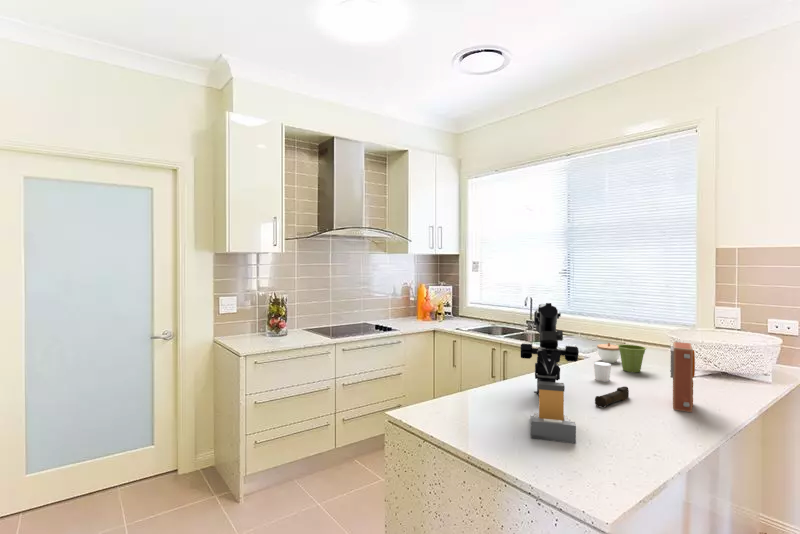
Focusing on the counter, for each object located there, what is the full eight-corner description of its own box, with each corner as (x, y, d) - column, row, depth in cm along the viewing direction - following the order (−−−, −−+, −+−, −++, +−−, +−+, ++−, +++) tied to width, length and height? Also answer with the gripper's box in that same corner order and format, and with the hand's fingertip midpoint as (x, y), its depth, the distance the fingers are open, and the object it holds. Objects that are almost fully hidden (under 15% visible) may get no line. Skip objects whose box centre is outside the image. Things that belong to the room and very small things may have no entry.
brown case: (692, 401, 155) (694, 414, 142) (669, 398, 159) (670, 410, 146) (693, 342, 155) (695, 350, 142) (670, 340, 158) (670, 347, 146)
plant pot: (651, 374, 192) (652, 349, 192) (625, 374, 192) (625, 349, 192) (637, 367, 204) (637, 344, 204) (612, 367, 204) (612, 344, 204)
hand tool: (604, 409, 148) (605, 396, 148) (594, 405, 151) (594, 392, 151) (635, 400, 158) (635, 387, 158) (625, 397, 161) (625, 384, 161)
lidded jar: (600, 363, 213) (600, 344, 212) (594, 358, 223) (594, 340, 223) (623, 364, 211) (623, 345, 211) (616, 359, 221) (616, 341, 221)
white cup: (612, 378, 185) (612, 362, 185) (610, 382, 179) (610, 366, 179) (594, 376, 188) (594, 360, 188) (592, 380, 183) (592, 364, 182)
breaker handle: (538, 419, 134) (538, 381, 134) (563, 421, 132) (563, 383, 132) (538, 422, 131) (538, 384, 131) (564, 425, 129) (564, 386, 129)
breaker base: (530, 418, 138) (530, 402, 138) (570, 422, 135) (570, 405, 135) (531, 438, 123) (531, 420, 123) (575, 443, 120) (575, 424, 119)
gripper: (520, 320, 149) (520, 358, 139) (578, 322, 144) (582, 362, 134) (520, 338, 157) (520, 376, 147) (575, 341, 152) (578, 380, 141)
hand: (549, 373), depth 142 cm, fingers closed
